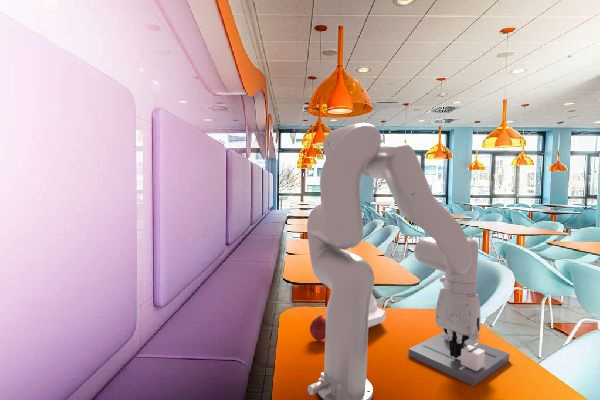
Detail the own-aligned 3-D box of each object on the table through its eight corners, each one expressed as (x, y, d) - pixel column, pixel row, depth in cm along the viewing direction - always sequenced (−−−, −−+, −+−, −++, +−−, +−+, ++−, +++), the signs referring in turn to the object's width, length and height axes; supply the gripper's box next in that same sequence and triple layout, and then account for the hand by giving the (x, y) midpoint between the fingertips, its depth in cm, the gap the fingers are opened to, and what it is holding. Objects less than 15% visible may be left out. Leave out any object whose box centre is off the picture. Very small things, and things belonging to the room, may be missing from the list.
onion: (327, 346, 104) (328, 319, 103) (308, 344, 105) (308, 317, 104) (330, 337, 109) (331, 312, 109) (311, 335, 111) (312, 310, 110)
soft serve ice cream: (336, 332, 117) (332, 287, 119) (364, 324, 127) (360, 283, 130) (367, 335, 108) (362, 286, 111) (395, 326, 118) (389, 282, 121)
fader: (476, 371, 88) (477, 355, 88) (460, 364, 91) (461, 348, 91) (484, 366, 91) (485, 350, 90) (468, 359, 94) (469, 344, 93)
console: (473, 386, 86) (474, 377, 86) (408, 355, 100) (408, 348, 100) (508, 360, 98) (509, 353, 98) (446, 336, 112) (446, 330, 112)
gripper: (425, 281, 96) (422, 348, 98) (482, 297, 85) (478, 372, 86) (440, 277, 101) (437, 341, 102) (496, 291, 90) (492, 363, 91)
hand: (455, 355), depth 94 cm, fingers closed
